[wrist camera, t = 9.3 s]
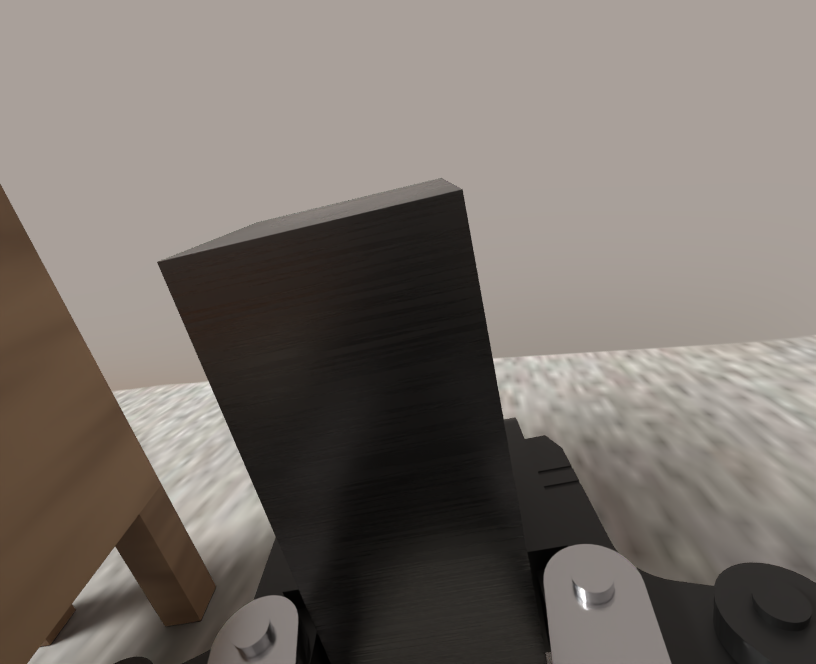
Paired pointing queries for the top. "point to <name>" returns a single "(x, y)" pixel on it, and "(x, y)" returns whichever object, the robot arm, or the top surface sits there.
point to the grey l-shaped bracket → (371, 422)
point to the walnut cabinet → (71, 471)
